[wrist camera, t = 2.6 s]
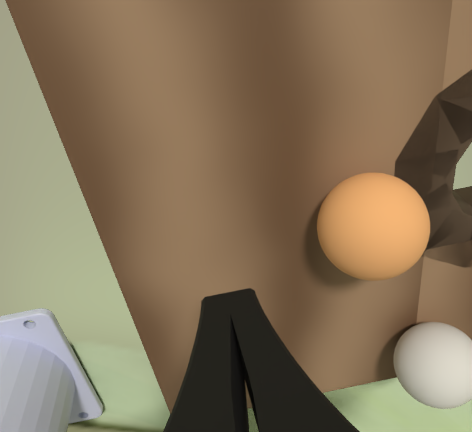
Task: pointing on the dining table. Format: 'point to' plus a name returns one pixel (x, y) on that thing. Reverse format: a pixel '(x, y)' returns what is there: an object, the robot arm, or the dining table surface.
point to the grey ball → (435, 364)
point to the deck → (262, 160)
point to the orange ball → (373, 226)
